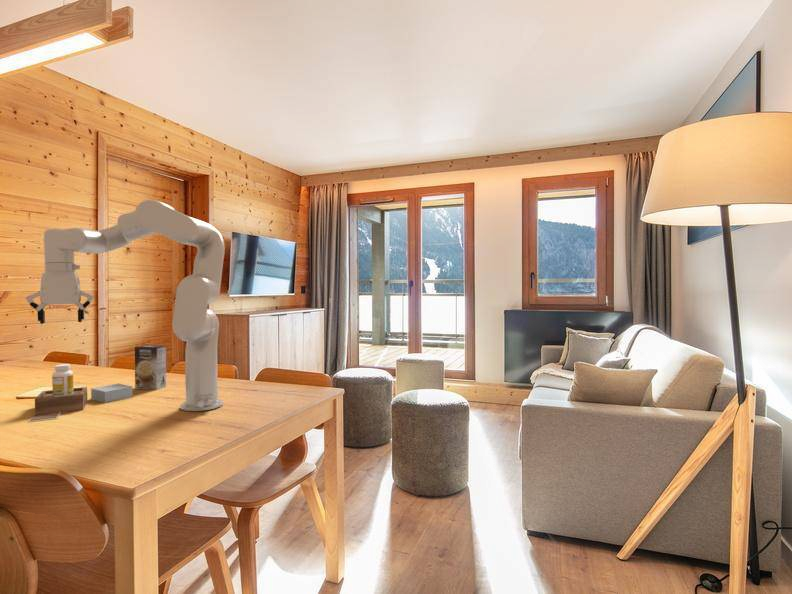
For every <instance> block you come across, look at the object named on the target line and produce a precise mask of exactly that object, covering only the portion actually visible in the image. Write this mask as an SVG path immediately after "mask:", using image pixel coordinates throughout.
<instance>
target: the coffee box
mask: <svg viewBox="0 0 792 594" xmlns="http://www.w3.org/2000/svg"><path fill="white" fill-rule="evenodd" d="M166 386H167V345H165V344H163V345H162V344H142V345H138V346H137V345H136V346H134V389H135V390H153V391H154V390H155V391H156V390H159V389H162V388H164V387H166Z"/></svg>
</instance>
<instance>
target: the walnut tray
mask: <svg viewBox="0 0 792 594" xmlns="http://www.w3.org/2000/svg"><path fill="white" fill-rule="evenodd" d="M73 390H74V393H73V394H72V395H68V396H58V397H54V396H53V389H52V390H51V389H50V390H42V391H41V392H40V393H39V394H38V395H37V396H36V398H35V399H34V414H43V413H52V412H61V413H67V412H77V411H84V409H85V407H86V405H87V403H88V387H87V386H84V387H83V386H81V387H73Z"/></svg>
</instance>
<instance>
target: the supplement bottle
mask: <svg viewBox="0 0 792 594" xmlns="http://www.w3.org/2000/svg"><path fill="white" fill-rule="evenodd" d="M70 369H71V364H70V363H63V364H60V363H59V364H56V365H54V372H53V373H52V374H51V375H52V376H51V380H52V382H51V383H52V390H53V396H54V397H58V396H68V395H72V394H73V393H74V390H73V388H74V373H73V371H72V370H70Z"/></svg>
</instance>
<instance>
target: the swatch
mask: <svg viewBox="0 0 792 594" xmlns="http://www.w3.org/2000/svg"><path fill="white" fill-rule="evenodd" d="M61 413H62V412H52V413H43V414H35V413H34V414H33V415H32V416H30V418H29V420H27V422H28V423H30V422H38V421H39V422H40V421H47V420H48V421H49V420H55V419H56V420H57V419H58V418H59V417H60V415H61Z"/></svg>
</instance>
